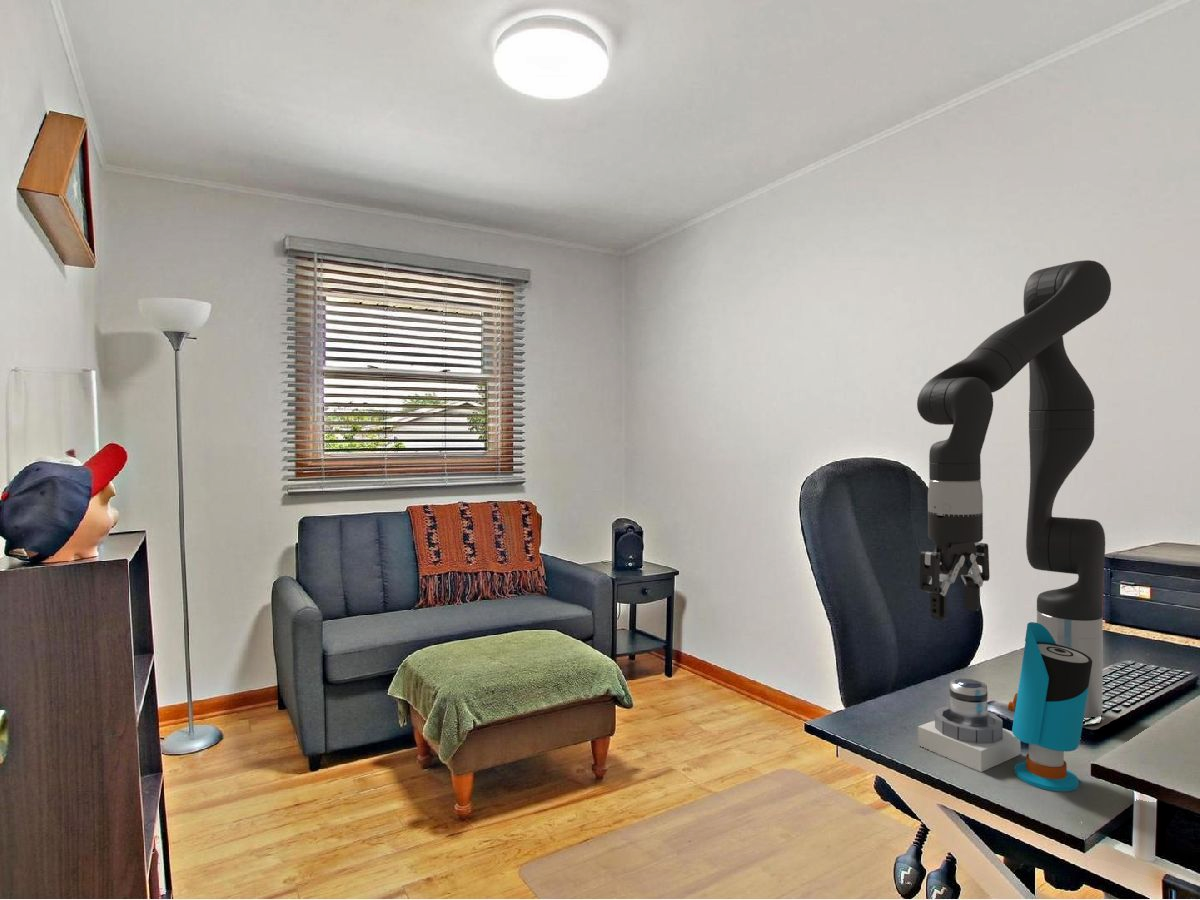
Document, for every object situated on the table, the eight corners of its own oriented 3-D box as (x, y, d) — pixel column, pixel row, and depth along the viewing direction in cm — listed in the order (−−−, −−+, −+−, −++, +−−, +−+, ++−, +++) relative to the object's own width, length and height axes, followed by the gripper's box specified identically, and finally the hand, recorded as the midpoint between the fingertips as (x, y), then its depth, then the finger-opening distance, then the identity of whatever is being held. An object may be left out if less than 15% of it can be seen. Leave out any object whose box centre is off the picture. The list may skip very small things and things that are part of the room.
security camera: (1089, 640, 92) (1001, 627, 98) (1088, 802, 93) (1001, 779, 99) (1095, 625, 99) (1012, 614, 105) (1095, 777, 99) (1013, 757, 105)
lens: (962, 720, 111) (961, 674, 111) (995, 731, 107) (994, 683, 107) (943, 728, 109) (942, 681, 109) (975, 739, 104) (974, 690, 104)
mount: (957, 730, 115) (957, 699, 115) (1020, 754, 106) (1020, 721, 106) (918, 745, 110) (917, 713, 110) (981, 771, 101) (981, 737, 101)
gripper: (959, 503, 116) (959, 602, 116) (903, 511, 108) (904, 616, 109) (1005, 507, 109) (1006, 612, 110) (950, 516, 102) (950, 628, 103)
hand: (955, 614), depth 110 cm, fingers open, 8 cm apart
